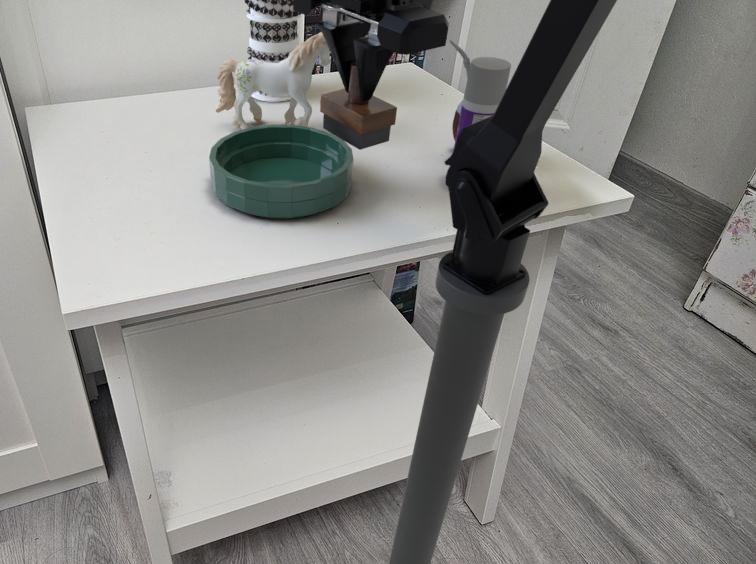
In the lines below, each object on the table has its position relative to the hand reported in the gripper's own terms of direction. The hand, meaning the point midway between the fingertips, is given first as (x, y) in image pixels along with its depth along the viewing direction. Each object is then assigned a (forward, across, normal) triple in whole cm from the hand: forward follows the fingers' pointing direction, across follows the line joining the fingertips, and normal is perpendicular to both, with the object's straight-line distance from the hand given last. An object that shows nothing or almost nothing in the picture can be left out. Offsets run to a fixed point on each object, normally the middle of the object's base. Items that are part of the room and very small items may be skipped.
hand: (358, 96), depth 72 cm
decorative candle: (+13, +35, -12) cm, 39 cm away
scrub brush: (+4, 0, 0) cm, 4 cm away
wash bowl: (+12, +6, +6) cm, 15 cm away
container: (+12, -6, -14) cm, 20 cm away
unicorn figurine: (+13, +24, -6) cm, 28 cm away
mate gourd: (+12, -1, -20) cm, 24 cm away
